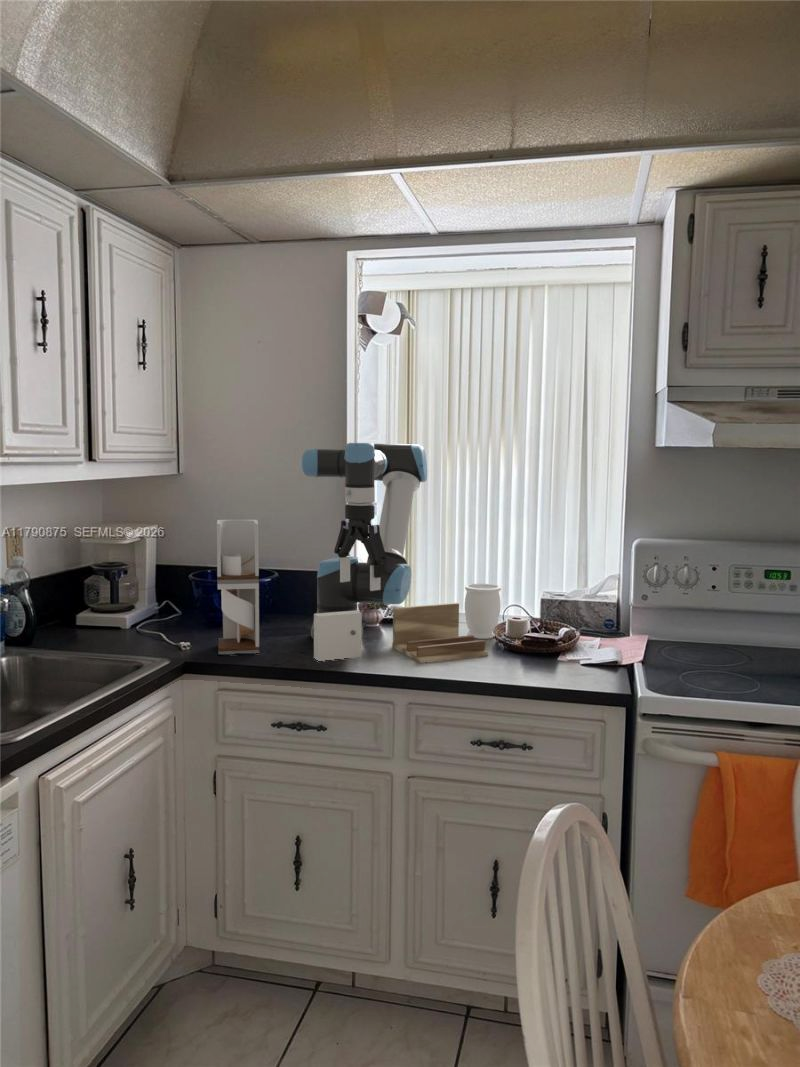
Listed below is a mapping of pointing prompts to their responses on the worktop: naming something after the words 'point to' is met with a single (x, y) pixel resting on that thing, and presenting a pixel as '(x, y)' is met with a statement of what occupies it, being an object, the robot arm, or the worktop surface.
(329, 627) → the door panel
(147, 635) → the worktop surface
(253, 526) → the spiral ramp tower
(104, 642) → the worktop surface
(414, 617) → the track base
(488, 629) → the jar
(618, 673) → the worktop surface
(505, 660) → the worktop surface
